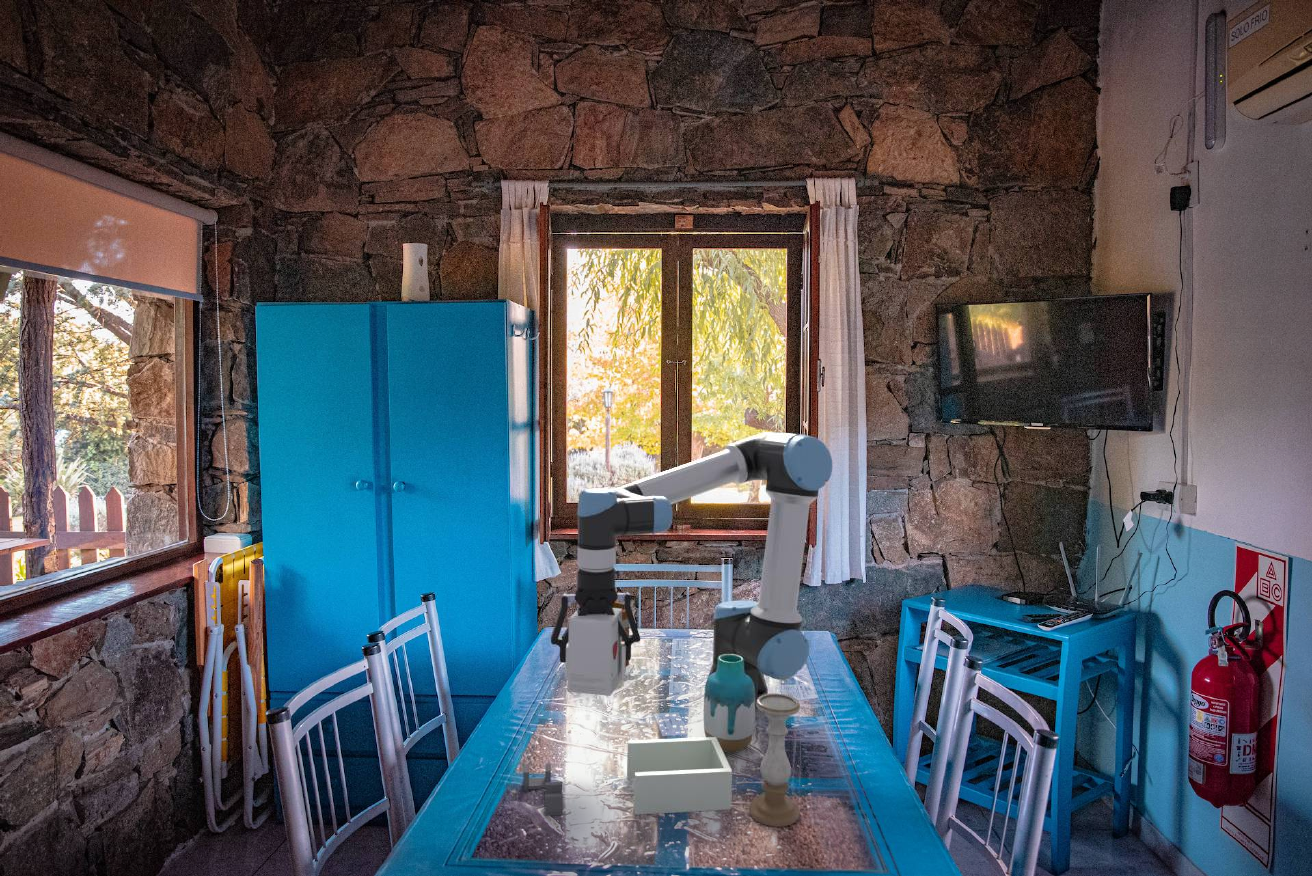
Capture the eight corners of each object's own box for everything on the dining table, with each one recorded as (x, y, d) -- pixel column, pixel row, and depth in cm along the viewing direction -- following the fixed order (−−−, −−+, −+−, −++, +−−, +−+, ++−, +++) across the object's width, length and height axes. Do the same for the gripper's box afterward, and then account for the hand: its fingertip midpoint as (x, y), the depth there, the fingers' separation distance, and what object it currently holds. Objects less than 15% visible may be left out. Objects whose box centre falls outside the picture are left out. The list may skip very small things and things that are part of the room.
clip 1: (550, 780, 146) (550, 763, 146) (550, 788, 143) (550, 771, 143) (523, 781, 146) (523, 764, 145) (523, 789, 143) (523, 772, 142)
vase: (758, 741, 164) (761, 653, 163) (747, 764, 154) (750, 670, 153) (710, 733, 167) (712, 646, 166) (696, 755, 157) (698, 663, 156)
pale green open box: (714, 771, 151) (716, 736, 150) (730, 809, 138) (732, 771, 137) (627, 775, 148) (627, 740, 148) (634, 814, 135) (635, 775, 135)
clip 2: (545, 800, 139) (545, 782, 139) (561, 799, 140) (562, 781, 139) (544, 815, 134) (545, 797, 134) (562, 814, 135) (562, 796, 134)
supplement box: (611, 697, 149) (612, 621, 148) (566, 692, 151) (567, 617, 150) (622, 679, 158) (623, 607, 157) (580, 675, 160) (581, 604, 159)
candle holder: (765, 832, 131) (769, 715, 129) (740, 805, 139) (743, 695, 137) (809, 821, 134) (813, 707, 133) (781, 796, 142) (785, 688, 141)
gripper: (651, 562, 158) (649, 667, 160) (538, 563, 155) (537, 671, 157) (656, 571, 151) (654, 681, 153) (537, 573, 148) (536, 686, 149)
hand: (595, 676), depth 155 cm, fingers closed on supplement box, 10 cm apart
